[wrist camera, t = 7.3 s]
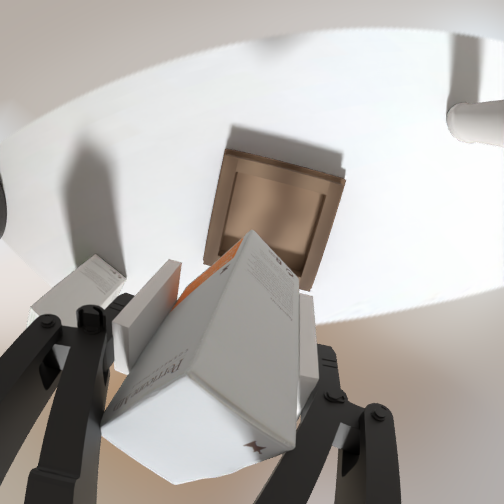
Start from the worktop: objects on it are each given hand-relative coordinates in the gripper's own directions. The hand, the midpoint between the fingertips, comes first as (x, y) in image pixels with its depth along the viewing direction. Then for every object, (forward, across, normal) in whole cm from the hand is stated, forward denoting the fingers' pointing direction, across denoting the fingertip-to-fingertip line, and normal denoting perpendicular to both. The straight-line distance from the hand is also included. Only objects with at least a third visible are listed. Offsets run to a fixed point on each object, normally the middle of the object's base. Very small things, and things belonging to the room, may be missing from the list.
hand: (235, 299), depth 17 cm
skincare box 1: (+21, +21, +17) cm, 35 cm away
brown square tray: (+21, -1, +1) cm, 22 cm away
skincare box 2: (+2, 0, 0) cm, 2 cm away
